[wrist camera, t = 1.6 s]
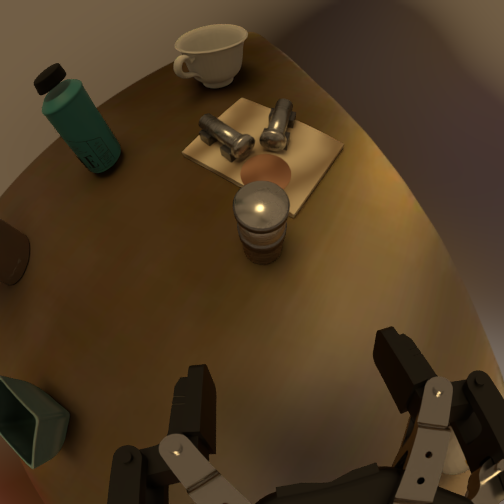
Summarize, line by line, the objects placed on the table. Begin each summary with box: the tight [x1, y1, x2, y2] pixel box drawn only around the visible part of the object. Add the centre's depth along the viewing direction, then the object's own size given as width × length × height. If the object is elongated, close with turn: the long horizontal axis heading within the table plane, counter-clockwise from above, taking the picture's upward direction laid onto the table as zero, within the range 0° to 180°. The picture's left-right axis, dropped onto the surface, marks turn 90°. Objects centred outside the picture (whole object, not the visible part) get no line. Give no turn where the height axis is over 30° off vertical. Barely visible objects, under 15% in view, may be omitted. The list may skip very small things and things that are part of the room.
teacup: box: [174, 24, 248, 88], centre depth 38 cm, size 12×15×10 cm
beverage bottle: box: [34, 63, 121, 173], centre depth 28 cm, size 6×7×20 cm
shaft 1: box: [199, 114, 255, 163], centre depth 34 cm, size 8×4×4 cm, turn 45°
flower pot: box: [0, 376, 70, 469], centre depth 21 cm, size 9×9×9 cm
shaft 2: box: [259, 99, 296, 151], centre depth 34 cm, size 8×4×4 cm, turn 165°
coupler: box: [233, 181, 290, 265], centre depth 27 cm, size 5×5×10 cm
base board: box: [182, 98, 344, 218], centre depth 36 cm, size 18×14×1 cm
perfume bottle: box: [442, 426, 469, 497], centre depth 16 cm, size 8×10×12 cm
